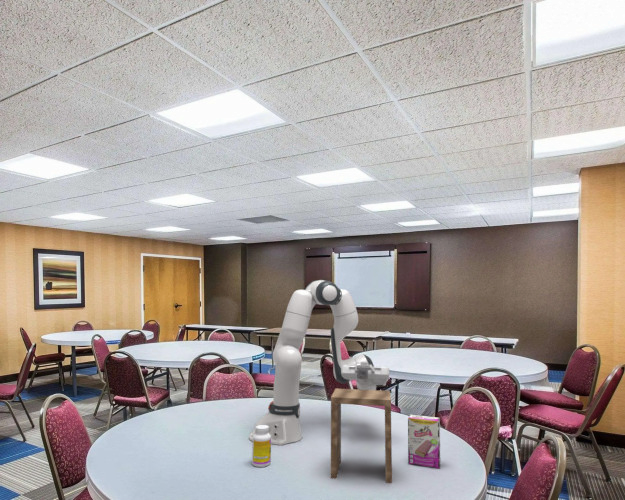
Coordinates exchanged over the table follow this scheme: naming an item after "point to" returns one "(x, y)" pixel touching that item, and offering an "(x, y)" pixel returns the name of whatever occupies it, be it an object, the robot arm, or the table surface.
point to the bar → (362, 371)
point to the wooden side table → (359, 399)
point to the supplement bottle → (261, 447)
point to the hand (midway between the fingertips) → (364, 366)
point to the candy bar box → (424, 441)
